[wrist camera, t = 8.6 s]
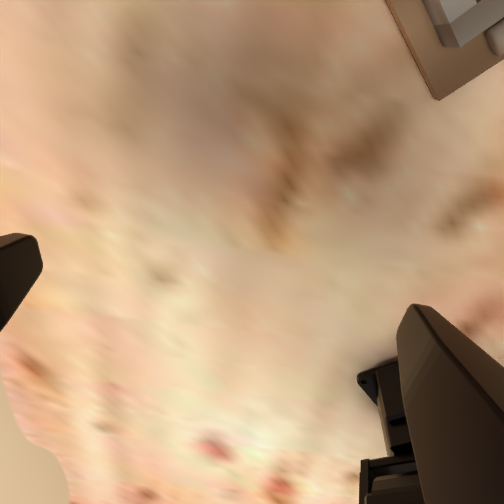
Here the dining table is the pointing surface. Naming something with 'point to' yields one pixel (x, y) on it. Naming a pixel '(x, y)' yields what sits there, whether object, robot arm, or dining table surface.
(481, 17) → the frame
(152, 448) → the dining table surface
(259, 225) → the dining table surface
